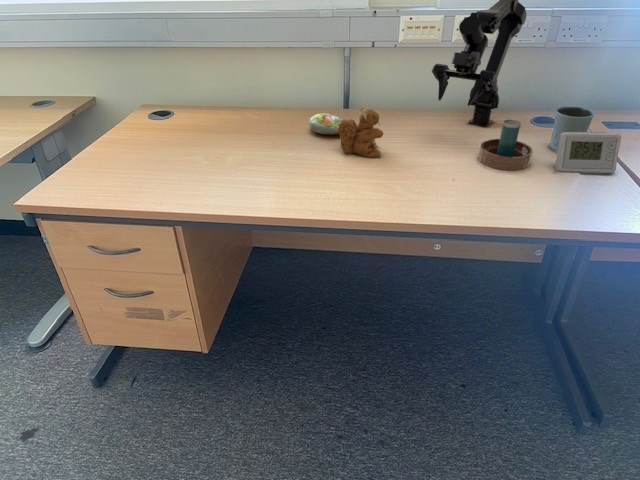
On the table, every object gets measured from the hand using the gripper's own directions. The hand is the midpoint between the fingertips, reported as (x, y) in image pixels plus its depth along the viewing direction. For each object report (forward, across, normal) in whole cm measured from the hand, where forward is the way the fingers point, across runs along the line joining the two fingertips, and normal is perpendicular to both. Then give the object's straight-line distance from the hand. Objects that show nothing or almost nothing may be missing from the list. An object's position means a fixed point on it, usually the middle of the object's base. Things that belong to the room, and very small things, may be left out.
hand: (453, 102), depth 136 cm
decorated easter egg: (+17, -40, +2) cm, 44 cm away
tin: (+11, +18, +8) cm, 23 cm away
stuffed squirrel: (+22, -22, -5) cm, 31 cm away
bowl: (+12, +18, +9) cm, 23 cm away
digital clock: (+7, +38, +14) cm, 41 cm away
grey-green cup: (-1, +30, +25) cm, 39 cm away
